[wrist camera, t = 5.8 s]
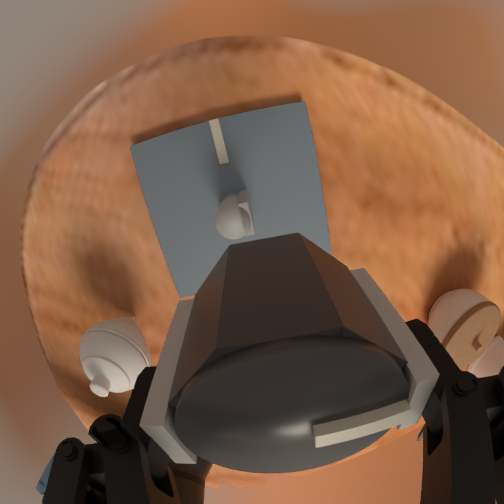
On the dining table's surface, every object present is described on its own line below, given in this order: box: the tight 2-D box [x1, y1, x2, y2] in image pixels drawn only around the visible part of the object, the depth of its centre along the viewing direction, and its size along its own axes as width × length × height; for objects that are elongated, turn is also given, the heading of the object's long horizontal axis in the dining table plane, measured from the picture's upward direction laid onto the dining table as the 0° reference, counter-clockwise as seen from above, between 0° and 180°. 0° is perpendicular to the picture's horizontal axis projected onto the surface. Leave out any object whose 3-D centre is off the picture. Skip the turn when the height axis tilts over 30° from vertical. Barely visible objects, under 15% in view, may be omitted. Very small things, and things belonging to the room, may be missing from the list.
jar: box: [468, 335, 504, 378], centre depth 31 cm, size 12×10×15 cm
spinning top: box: [79, 316, 150, 397], centre depth 25 cm, size 8×8×12 cm
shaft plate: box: [130, 101, 331, 298], centre depth 23 cm, size 16×16×6 cm
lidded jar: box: [427, 289, 501, 370], centre depth 28 cm, size 11×11×9 cm
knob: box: [168, 232, 411, 473], centre depth 9 cm, size 7×7×7 cm
